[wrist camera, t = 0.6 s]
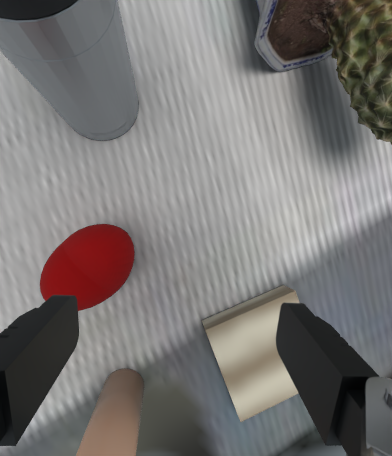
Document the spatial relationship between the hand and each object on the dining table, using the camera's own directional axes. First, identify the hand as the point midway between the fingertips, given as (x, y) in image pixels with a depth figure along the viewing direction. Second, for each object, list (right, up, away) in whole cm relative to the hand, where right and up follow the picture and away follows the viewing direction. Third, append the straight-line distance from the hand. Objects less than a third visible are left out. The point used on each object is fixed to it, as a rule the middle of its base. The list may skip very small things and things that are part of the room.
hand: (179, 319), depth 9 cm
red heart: (-10, 0, +20) cm, 23 cm away
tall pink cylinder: (-8, -16, +21) cm, 28 cm away
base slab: (+9, -12, +23) cm, 27 cm away
